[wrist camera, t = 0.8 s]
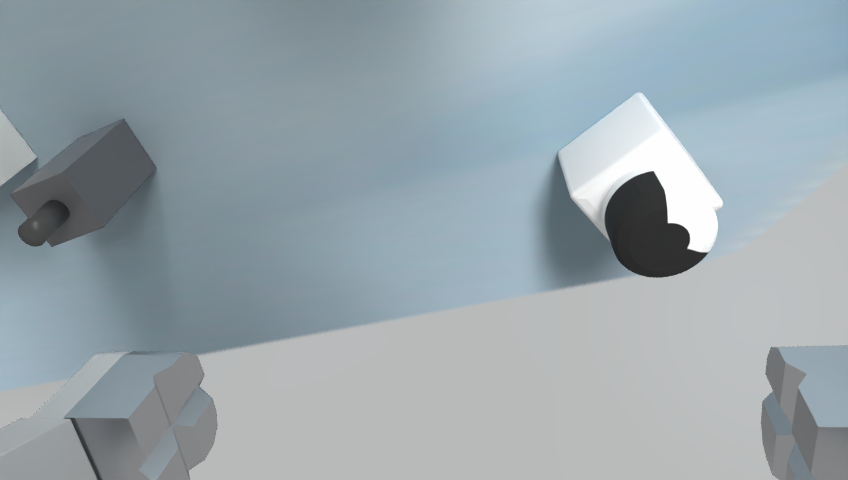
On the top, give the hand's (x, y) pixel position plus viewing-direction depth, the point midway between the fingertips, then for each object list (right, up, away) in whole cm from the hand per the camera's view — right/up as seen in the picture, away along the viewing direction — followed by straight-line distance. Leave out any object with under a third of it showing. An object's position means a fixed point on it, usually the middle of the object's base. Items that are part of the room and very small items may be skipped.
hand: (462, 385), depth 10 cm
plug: (-24, +9, +41) cm, 48 cm away
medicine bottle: (+14, +8, +40) cm, 43 cm away
